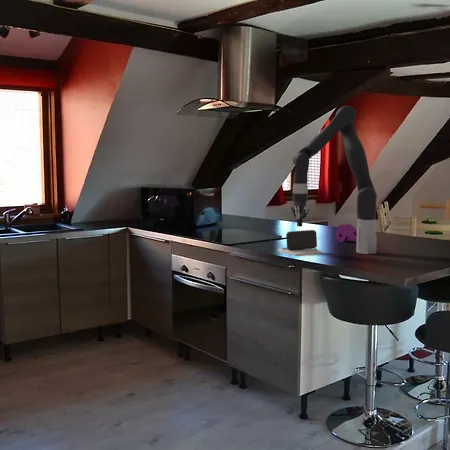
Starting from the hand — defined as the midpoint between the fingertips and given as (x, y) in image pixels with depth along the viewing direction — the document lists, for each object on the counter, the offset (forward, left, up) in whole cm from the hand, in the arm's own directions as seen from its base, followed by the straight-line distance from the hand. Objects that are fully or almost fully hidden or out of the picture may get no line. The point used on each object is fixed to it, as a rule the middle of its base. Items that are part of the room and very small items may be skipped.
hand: (299, 226), depth 278 cm
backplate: (0, 0, -13) cm, 13 cm away
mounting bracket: (+13, -47, -14) cm, 51 cm away
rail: (0, 0, -12) cm, 12 cm away
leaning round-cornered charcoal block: (-2, -1, -12) cm, 12 cm away
